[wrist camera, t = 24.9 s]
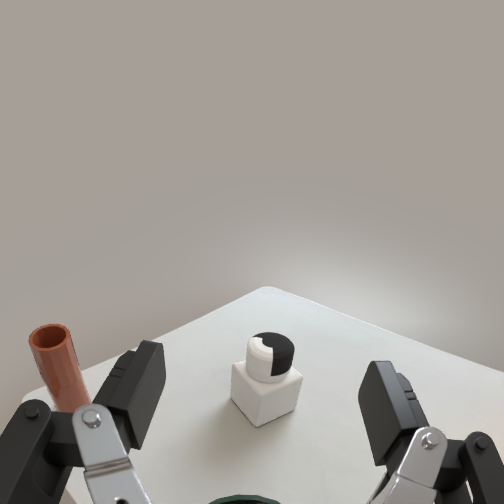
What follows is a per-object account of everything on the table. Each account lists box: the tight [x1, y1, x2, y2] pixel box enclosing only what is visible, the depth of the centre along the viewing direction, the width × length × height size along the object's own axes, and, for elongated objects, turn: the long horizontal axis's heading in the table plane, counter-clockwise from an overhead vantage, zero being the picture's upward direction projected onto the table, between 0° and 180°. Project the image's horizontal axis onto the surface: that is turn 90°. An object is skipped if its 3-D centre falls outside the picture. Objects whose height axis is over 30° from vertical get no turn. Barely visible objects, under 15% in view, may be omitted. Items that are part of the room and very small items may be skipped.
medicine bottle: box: [231, 332, 303, 427], centre depth 40 cm, size 7×7×12 cm
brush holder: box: [29, 324, 92, 413], centre depth 32 cm, size 6×6×14 cm
